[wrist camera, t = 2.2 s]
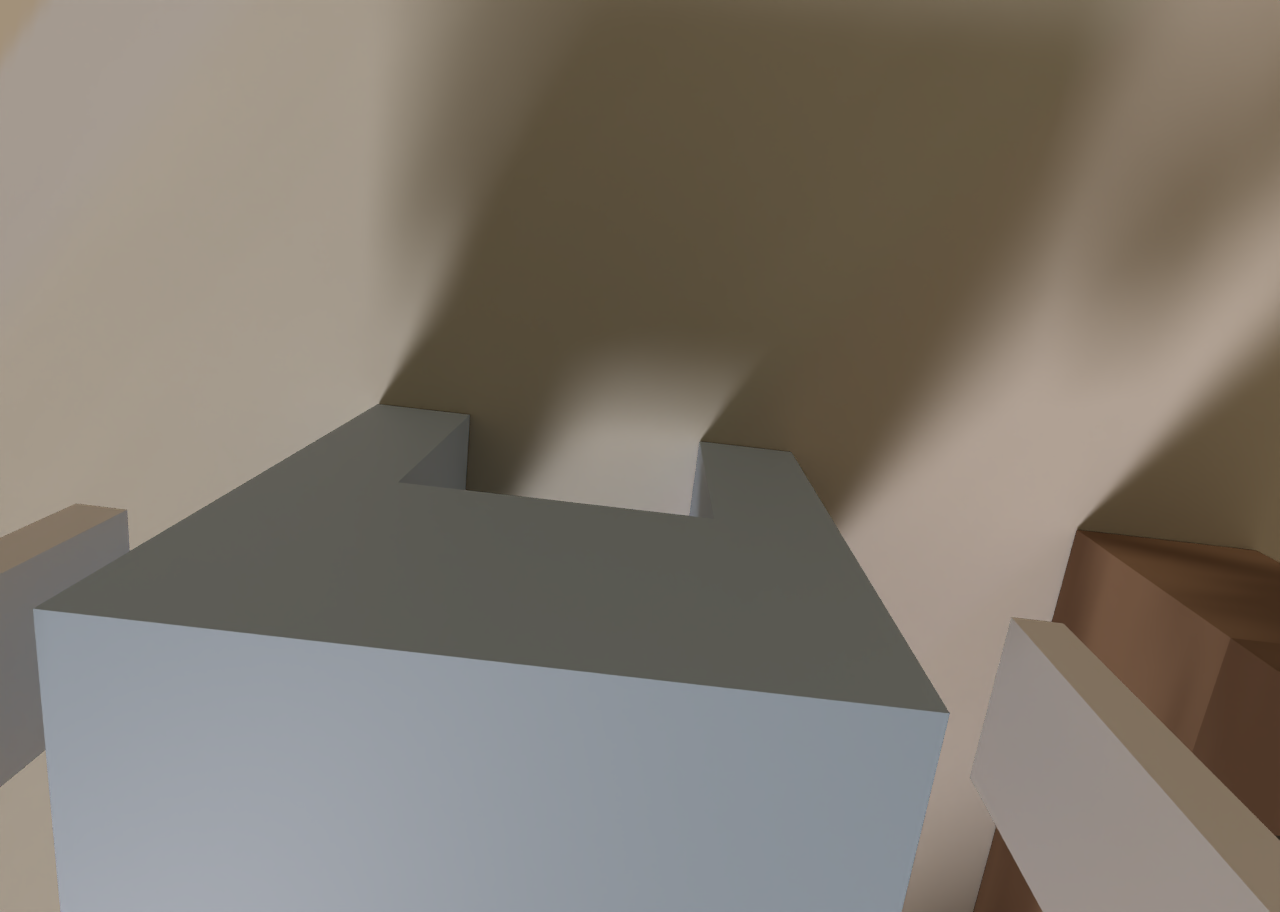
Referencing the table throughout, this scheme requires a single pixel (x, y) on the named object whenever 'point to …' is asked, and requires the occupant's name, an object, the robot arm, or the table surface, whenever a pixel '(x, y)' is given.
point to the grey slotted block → (484, 698)
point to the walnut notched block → (1177, 663)
